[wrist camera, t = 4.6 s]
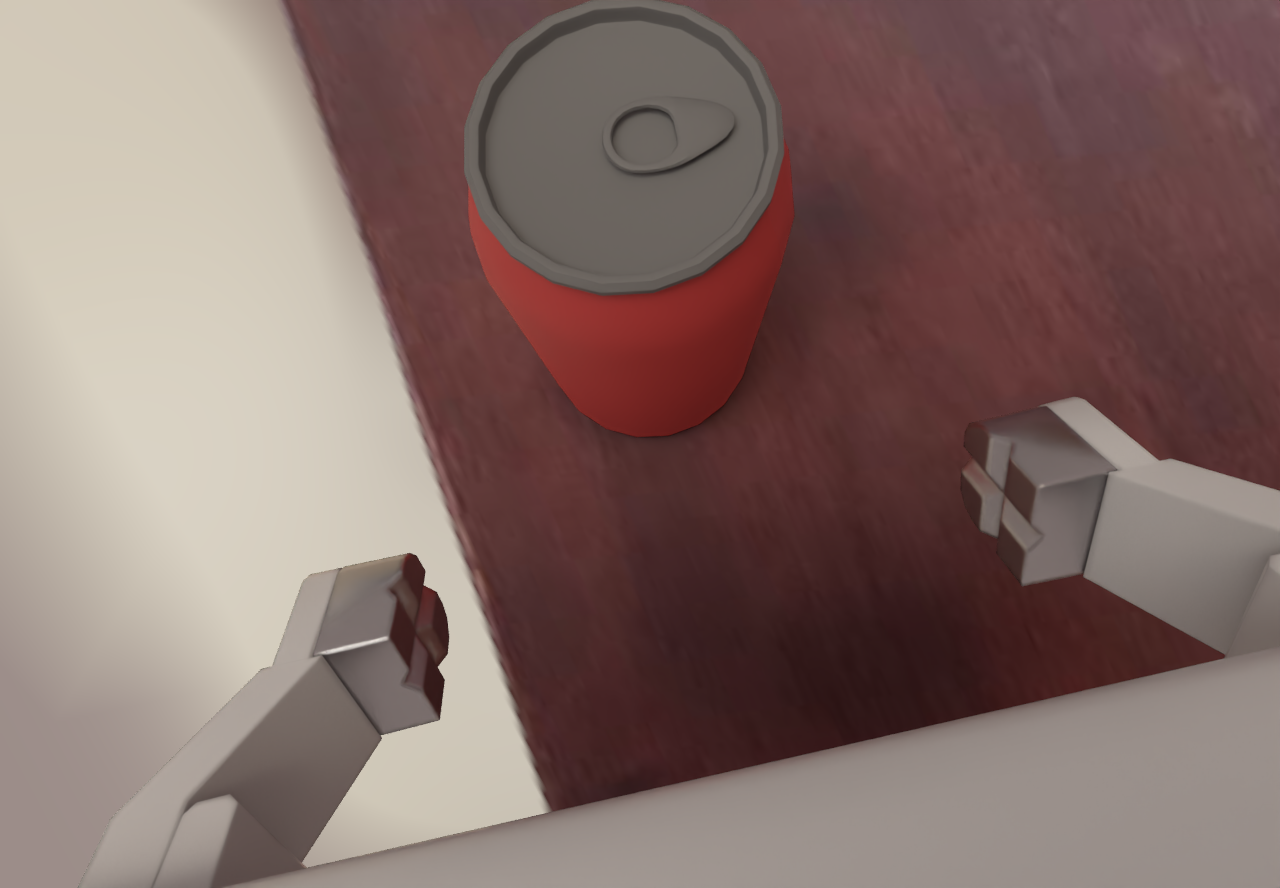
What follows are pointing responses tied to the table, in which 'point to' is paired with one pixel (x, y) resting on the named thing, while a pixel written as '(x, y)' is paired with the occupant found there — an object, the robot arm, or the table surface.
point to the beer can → (631, 205)
